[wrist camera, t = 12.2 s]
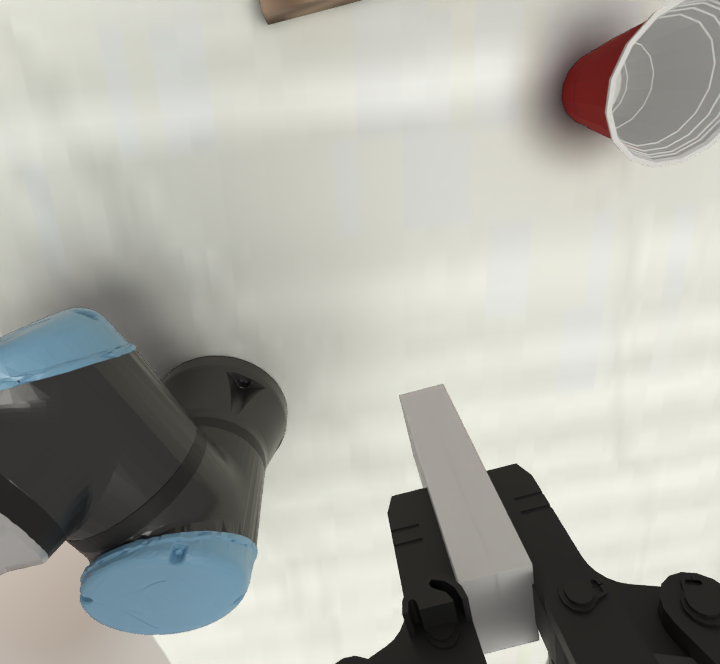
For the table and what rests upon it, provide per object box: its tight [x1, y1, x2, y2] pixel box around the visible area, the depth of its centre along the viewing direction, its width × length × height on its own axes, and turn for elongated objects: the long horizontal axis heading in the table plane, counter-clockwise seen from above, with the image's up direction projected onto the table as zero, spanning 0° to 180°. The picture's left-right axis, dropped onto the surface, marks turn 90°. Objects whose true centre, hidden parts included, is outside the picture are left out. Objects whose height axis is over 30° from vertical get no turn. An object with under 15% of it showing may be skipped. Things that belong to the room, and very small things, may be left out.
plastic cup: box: [562, 0, 720, 167], centre depth 36 cm, size 11×11×12 cm
